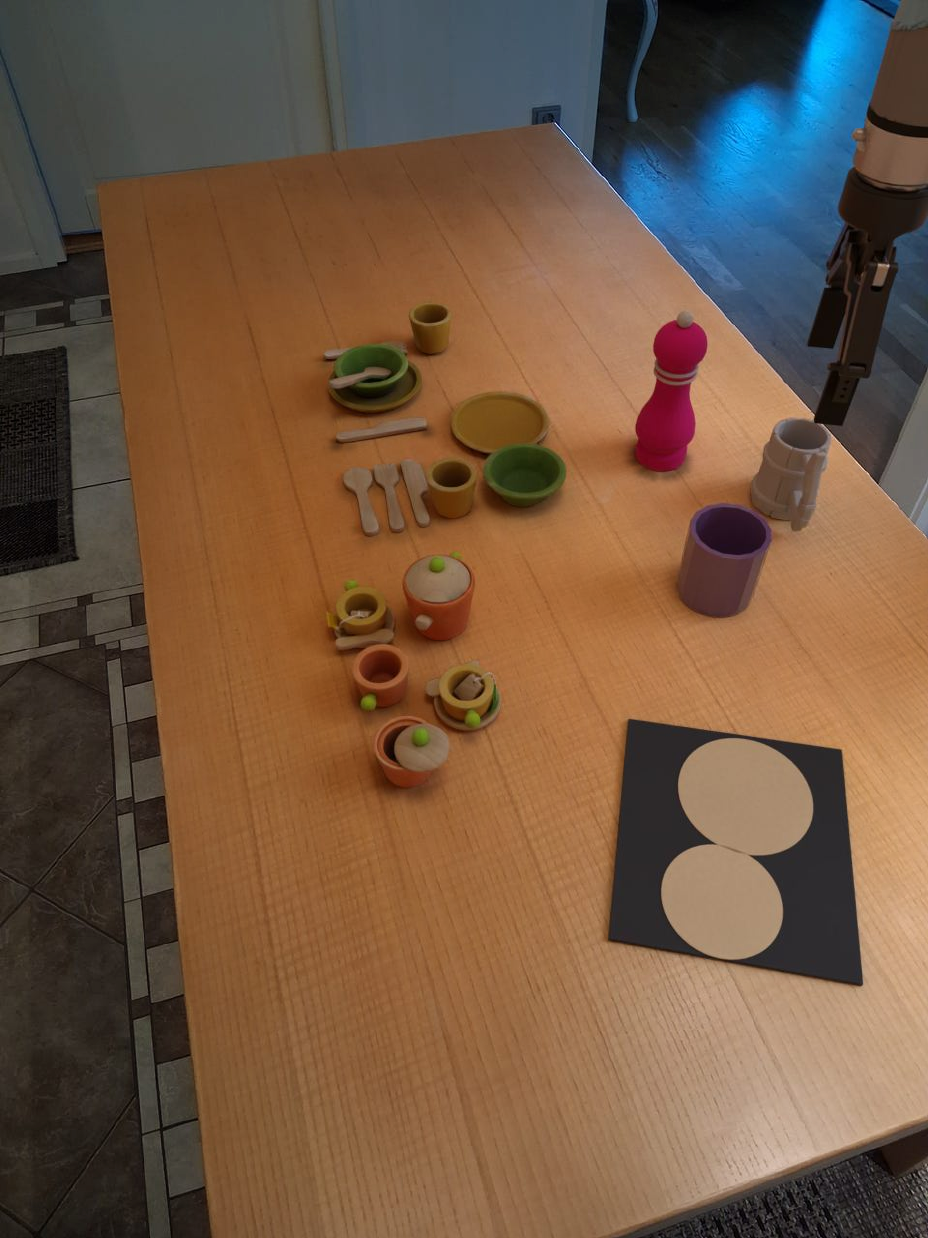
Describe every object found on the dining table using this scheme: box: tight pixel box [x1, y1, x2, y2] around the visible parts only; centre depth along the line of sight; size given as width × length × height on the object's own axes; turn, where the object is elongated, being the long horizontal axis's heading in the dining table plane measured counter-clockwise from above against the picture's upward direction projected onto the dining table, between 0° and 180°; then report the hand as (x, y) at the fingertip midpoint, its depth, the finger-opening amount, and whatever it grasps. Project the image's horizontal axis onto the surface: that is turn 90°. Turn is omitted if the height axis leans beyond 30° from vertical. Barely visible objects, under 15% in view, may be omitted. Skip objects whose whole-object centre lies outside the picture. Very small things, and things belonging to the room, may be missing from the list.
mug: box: [750, 417, 832, 532], centre depth 102 cm, size 8×12×12 cm, turn 0°
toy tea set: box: [325, 551, 502, 788], centre depth 87 cm, size 26×16×10 cm, turn 16°
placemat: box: [607, 718, 864, 987], centre depth 79 cm, size 20×22×1 cm
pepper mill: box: [634, 310, 709, 472], centre depth 106 cm, size 7×7×20 cm
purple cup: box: [675, 502, 773, 618], centre depth 95 cm, size 8×8×9 cm
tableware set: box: [322, 301, 568, 537], centre depth 116 cm, size 41×28×6 cm
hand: (823, 382), depth 93 cm, fingers open, 13 cm apart
